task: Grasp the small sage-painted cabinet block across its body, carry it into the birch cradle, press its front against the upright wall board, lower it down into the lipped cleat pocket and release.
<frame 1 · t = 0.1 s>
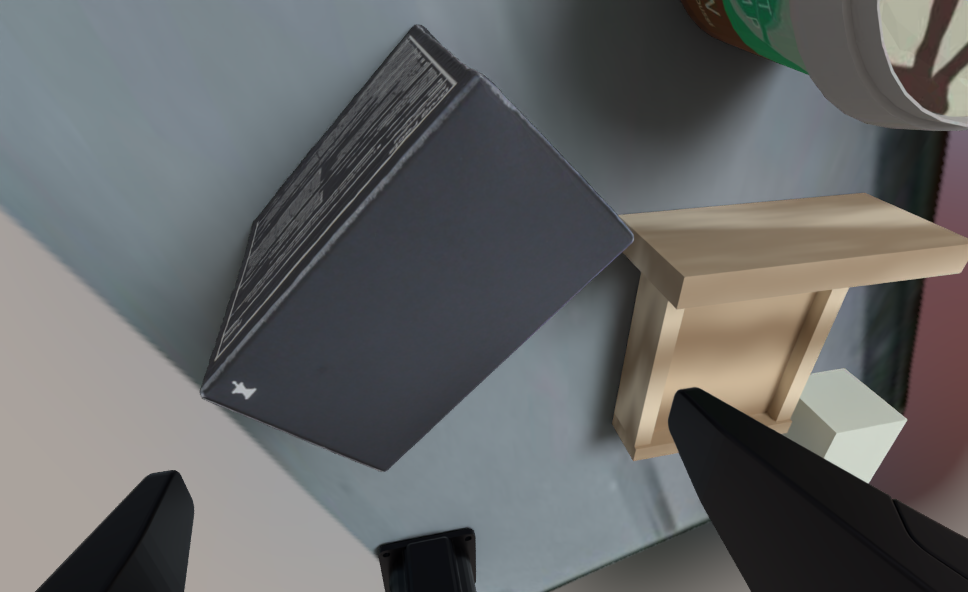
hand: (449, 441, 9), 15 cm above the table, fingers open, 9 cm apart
cleat cradle: (720, 295, 29), on the table
cabinet: (789, 419, 37), on the table
small box: (391, 178, 22), on the table
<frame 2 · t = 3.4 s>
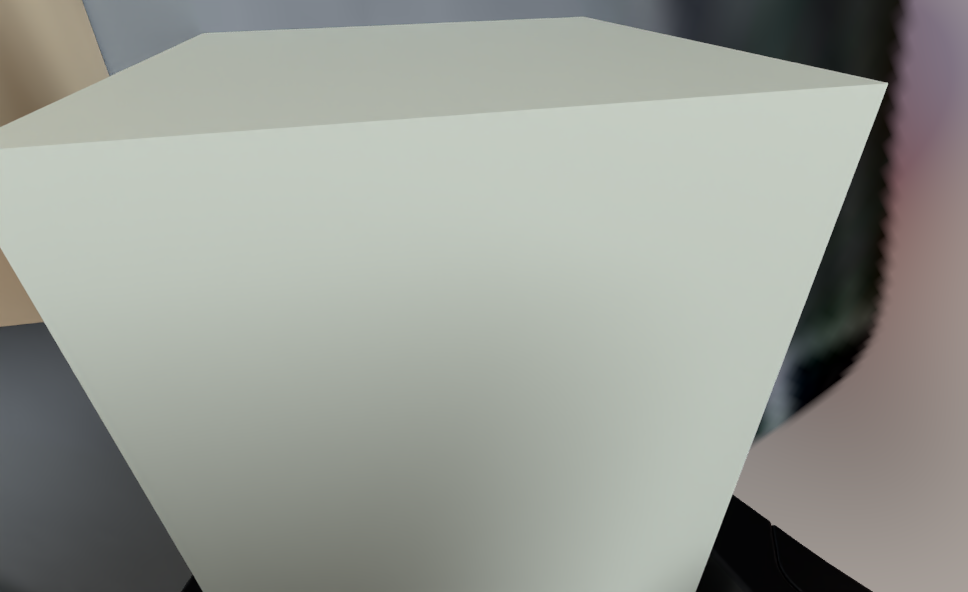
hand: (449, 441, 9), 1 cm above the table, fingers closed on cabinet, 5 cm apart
cabinet: (430, 306, 9), on the table, touching gripper
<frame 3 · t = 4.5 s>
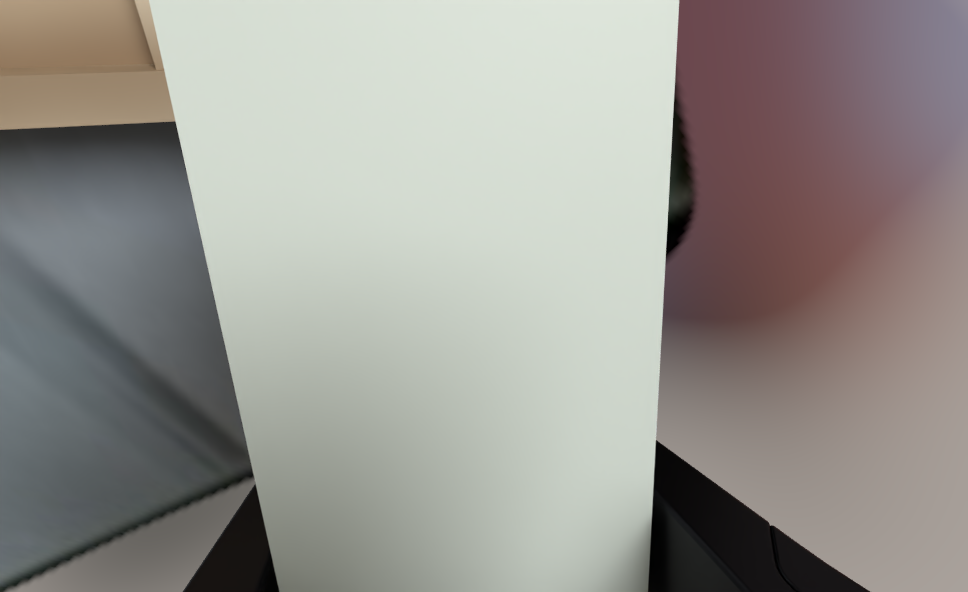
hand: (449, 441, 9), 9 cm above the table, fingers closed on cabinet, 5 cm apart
cabinet: (425, 293, 11), point 6 cm above the table, tilted 15°, touching gripper
when the fingers open (4 cm above the table, at t = 9.1 s): cabinet stays where it is, resting on cleat cradle.
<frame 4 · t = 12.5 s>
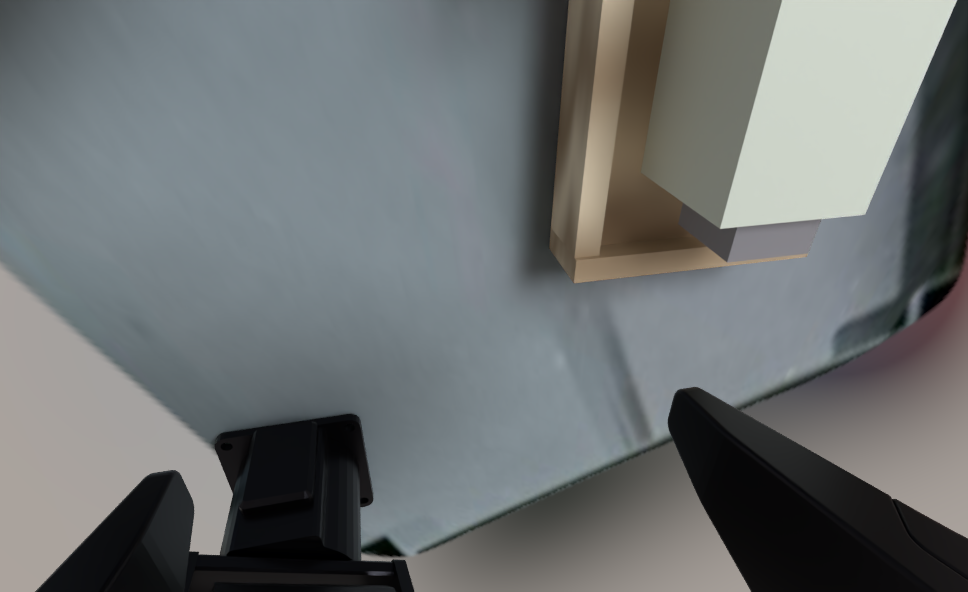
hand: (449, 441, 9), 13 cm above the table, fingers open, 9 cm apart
cleat cradle: (705, 10, 19), on the table
cabinet: (732, 36, 17), point 2 cm above the table, touching cleat cradle
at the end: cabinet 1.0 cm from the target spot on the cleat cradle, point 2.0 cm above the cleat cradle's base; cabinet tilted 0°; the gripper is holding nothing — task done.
